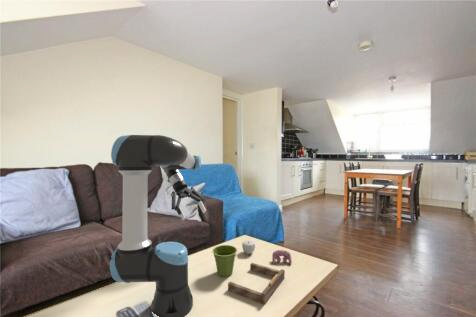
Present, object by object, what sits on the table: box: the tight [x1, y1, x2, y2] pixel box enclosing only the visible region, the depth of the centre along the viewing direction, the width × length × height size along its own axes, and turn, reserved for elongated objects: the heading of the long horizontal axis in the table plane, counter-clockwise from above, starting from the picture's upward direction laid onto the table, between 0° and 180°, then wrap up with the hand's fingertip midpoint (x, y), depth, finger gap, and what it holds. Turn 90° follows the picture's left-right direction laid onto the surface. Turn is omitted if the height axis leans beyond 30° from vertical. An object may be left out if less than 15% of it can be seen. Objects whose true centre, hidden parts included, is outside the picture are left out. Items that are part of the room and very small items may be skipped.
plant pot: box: [211, 244, 238, 278], centre depth 110 cm, size 12×12×11 cm
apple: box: [241, 240, 256, 255], centre depth 132 cm, size 8×8×7 cm
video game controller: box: [271, 249, 293, 265], centre depth 121 cm, size 10×5×7 cm, turn 84°
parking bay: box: [227, 262, 285, 305], centre depth 101 cm, size 17×21×5 cm
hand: (195, 215), depth 124 cm, fingers open, 13 cm apart
